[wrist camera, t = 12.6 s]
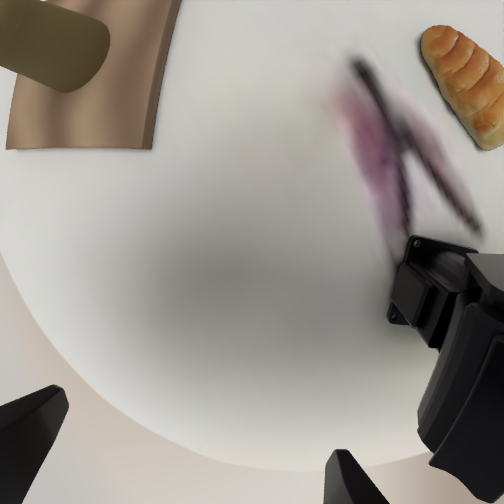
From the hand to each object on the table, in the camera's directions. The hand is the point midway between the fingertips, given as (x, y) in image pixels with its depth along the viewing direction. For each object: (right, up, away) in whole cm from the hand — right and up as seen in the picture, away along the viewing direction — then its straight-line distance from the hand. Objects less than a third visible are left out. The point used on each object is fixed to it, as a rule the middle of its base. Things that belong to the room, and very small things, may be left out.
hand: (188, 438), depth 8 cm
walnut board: (-11, +20, +9) cm, 24 cm away
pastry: (+18, +17, +7) cm, 26 cm away
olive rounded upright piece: (-11, +20, +7) cm, 24 cm away
